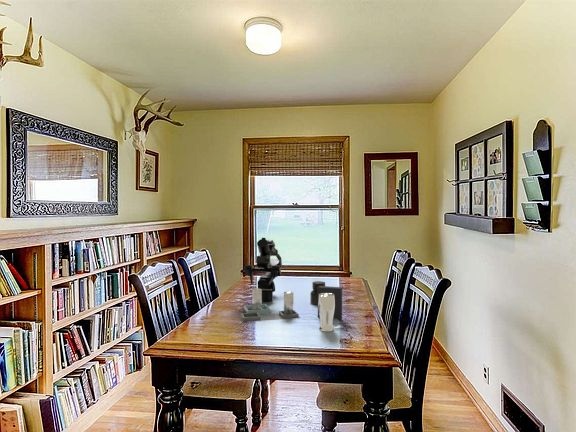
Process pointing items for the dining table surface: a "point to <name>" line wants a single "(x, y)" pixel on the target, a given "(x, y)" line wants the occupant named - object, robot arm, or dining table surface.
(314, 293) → the ink bottle
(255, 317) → the tray
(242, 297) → the dining table surface
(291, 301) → the billet
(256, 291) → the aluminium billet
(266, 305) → the tote
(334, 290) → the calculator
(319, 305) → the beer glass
